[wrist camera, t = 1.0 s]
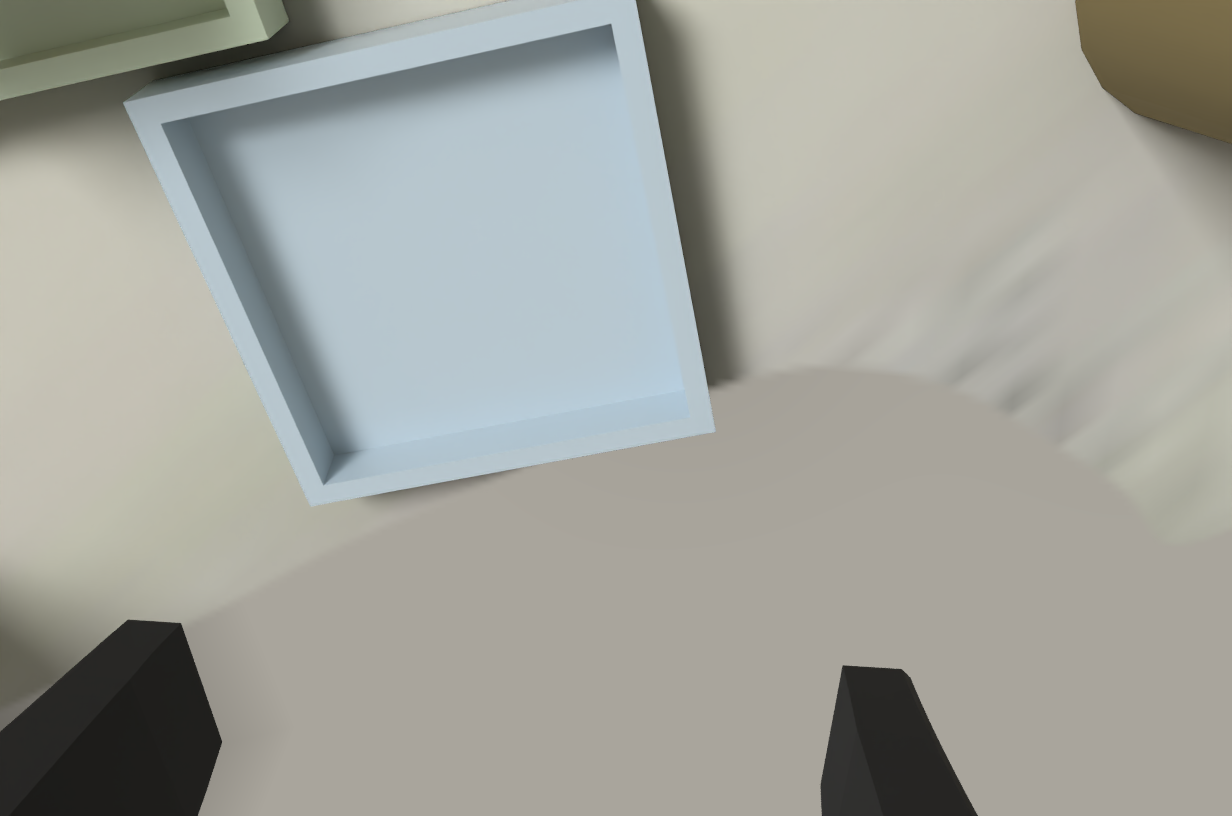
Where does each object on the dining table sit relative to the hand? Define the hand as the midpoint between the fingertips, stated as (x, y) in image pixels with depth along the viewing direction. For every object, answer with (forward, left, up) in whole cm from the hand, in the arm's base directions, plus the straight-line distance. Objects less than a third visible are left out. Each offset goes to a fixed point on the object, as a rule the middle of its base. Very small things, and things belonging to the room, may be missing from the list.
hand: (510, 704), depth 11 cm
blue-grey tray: (-2, 0, -13) cm, 13 cm away
